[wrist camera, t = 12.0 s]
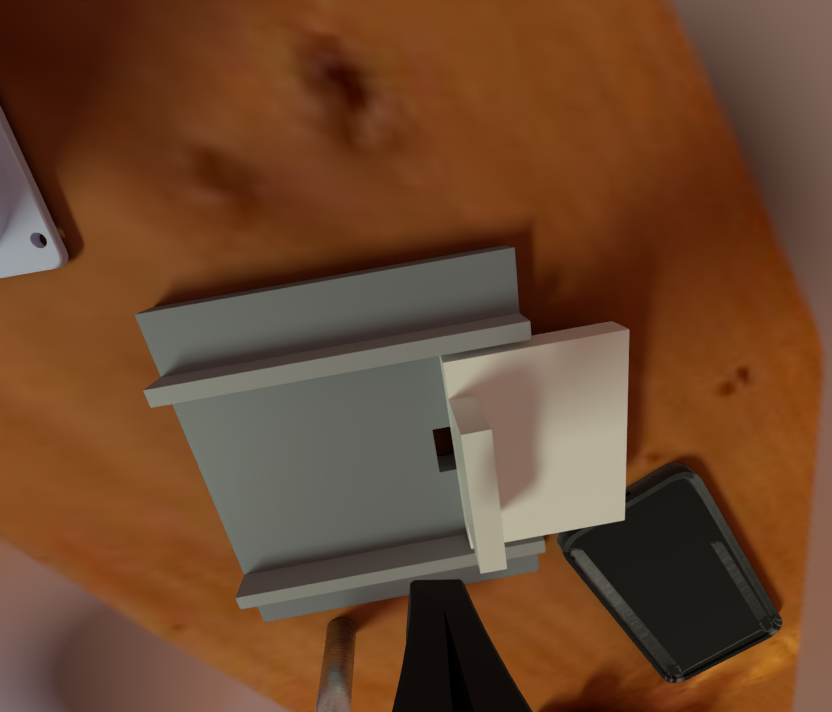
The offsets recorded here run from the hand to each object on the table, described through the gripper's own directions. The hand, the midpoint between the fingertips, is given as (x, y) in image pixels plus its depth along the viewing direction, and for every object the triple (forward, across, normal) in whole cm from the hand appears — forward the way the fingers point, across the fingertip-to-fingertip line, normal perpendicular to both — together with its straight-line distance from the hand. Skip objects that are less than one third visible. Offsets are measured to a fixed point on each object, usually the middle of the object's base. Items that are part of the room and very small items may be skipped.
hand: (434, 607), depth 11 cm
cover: (+7, -5, -1) cm, 9 cm away
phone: (+9, -15, +9) cm, 20 cm away
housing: (+8, +2, 0) cm, 9 cm away
